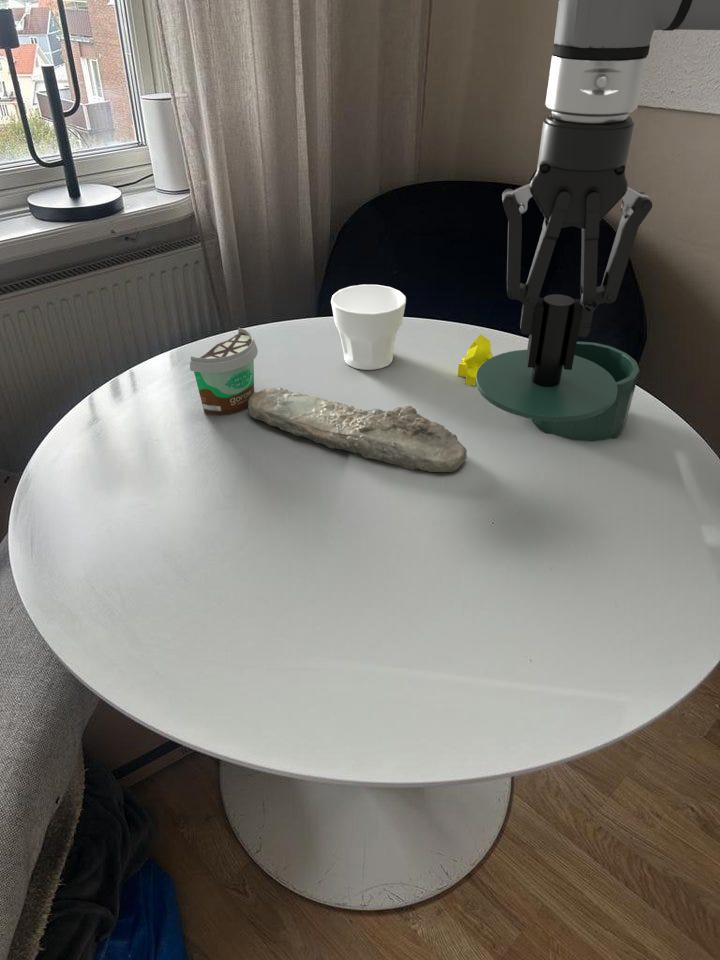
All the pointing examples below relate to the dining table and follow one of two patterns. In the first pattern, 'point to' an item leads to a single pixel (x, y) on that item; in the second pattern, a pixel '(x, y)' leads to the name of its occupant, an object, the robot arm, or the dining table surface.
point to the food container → (226, 374)
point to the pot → (616, 415)
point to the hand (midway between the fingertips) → (548, 362)
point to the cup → (368, 323)
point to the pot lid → (548, 375)
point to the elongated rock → (362, 430)
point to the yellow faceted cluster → (475, 359)
